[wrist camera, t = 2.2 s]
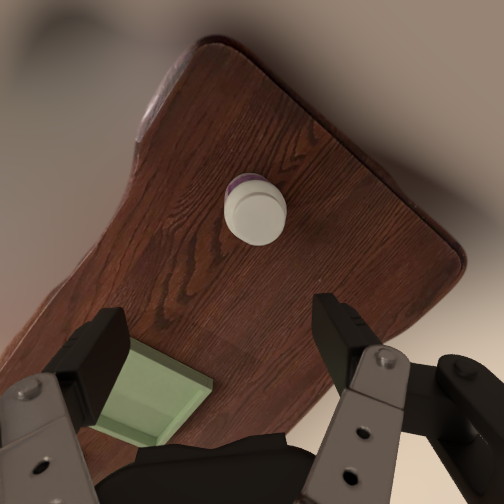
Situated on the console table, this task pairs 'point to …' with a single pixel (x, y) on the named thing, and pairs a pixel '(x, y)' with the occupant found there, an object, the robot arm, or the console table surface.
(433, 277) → the console table surface
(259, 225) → the pill bottle
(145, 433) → the tray
